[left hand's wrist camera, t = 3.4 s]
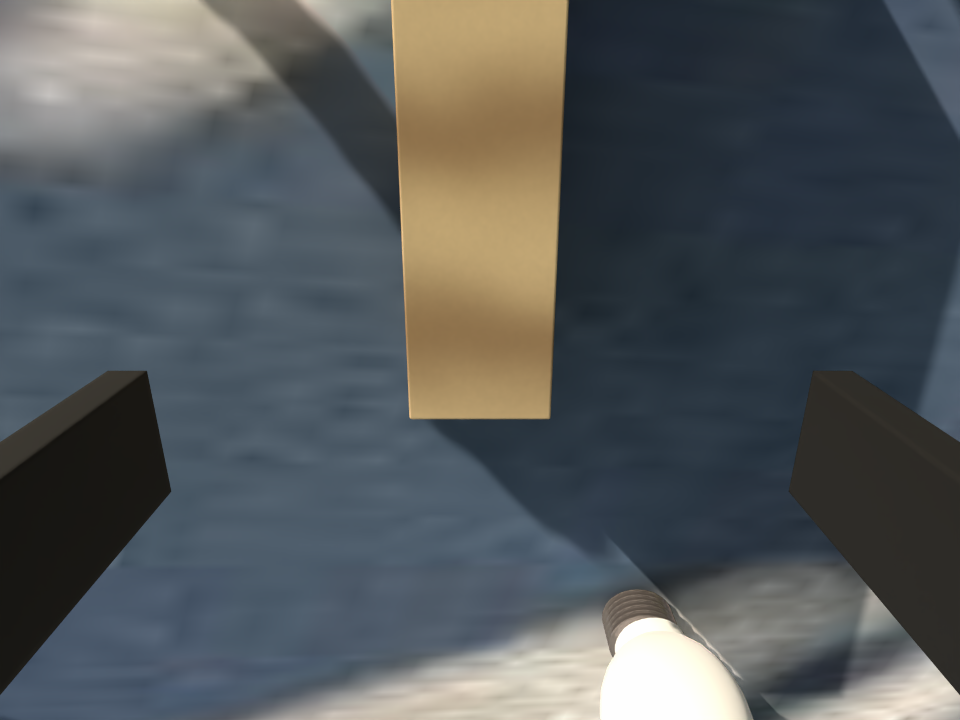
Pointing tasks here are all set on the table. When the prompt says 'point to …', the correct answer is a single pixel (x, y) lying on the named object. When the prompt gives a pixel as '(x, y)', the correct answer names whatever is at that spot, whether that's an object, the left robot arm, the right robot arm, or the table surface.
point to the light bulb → (662, 667)
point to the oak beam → (480, 201)
